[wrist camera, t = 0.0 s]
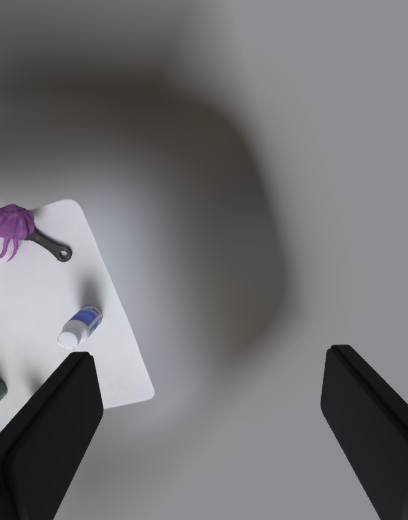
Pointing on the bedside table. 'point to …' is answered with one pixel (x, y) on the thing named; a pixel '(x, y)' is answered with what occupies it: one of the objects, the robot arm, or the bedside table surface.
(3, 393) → the cup
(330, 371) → the robot arm
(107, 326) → the bedside table surface
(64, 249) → the hex hole wrench
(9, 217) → the jellyfish
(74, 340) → the pill bottle
